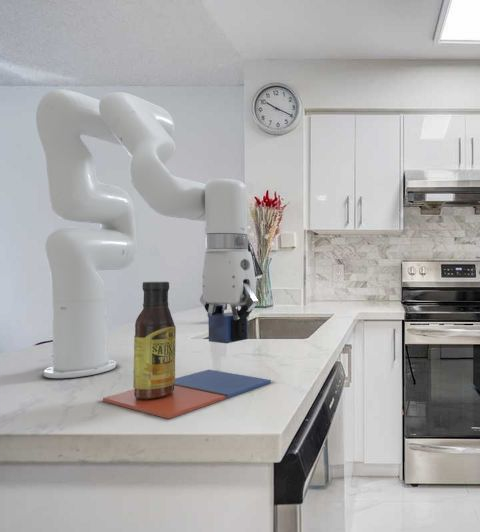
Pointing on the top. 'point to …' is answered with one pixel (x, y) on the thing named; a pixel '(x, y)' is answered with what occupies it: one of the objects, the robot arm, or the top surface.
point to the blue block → (221, 327)
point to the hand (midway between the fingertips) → (228, 338)
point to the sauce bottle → (154, 344)
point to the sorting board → (190, 393)
